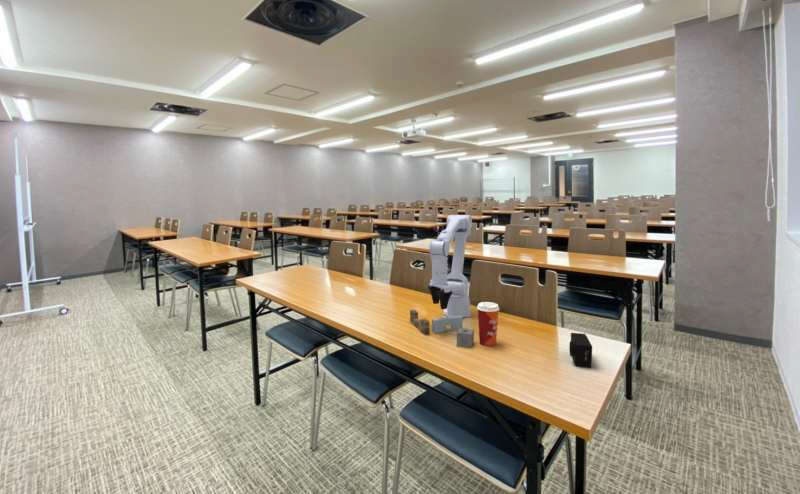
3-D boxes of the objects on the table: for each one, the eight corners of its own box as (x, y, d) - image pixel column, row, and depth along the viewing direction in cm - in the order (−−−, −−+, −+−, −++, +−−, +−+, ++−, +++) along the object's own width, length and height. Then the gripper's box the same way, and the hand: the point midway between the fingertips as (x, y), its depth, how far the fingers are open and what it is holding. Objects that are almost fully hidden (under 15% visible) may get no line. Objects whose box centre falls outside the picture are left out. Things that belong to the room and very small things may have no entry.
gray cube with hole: (456, 346, 126) (456, 332, 126) (459, 340, 131) (459, 327, 130) (471, 348, 125) (471, 334, 124) (473, 342, 129) (473, 329, 129)
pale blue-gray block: (460, 327, 144) (460, 315, 143) (462, 329, 142) (462, 317, 141) (432, 331, 140) (432, 319, 140) (434, 333, 138) (434, 320, 138)
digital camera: (566, 352, 120) (566, 331, 119) (584, 354, 118) (585, 333, 117) (571, 366, 110) (572, 344, 109) (591, 368, 108) (592, 345, 107)
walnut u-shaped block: (410, 321, 152) (410, 310, 152) (414, 321, 153) (414, 309, 152) (424, 334, 137) (424, 322, 137) (429, 334, 138) (429, 321, 137)
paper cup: (495, 349, 123) (495, 309, 121) (473, 344, 127) (473, 305, 125) (501, 341, 130) (502, 303, 128) (481, 337, 134) (481, 300, 132)
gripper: (423, 269, 145) (423, 302, 147) (437, 276, 131) (437, 312, 133) (439, 267, 147) (439, 300, 149) (455, 274, 133) (455, 310, 135)
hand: (439, 306), depth 141 cm, fingers open, 7 cm apart
